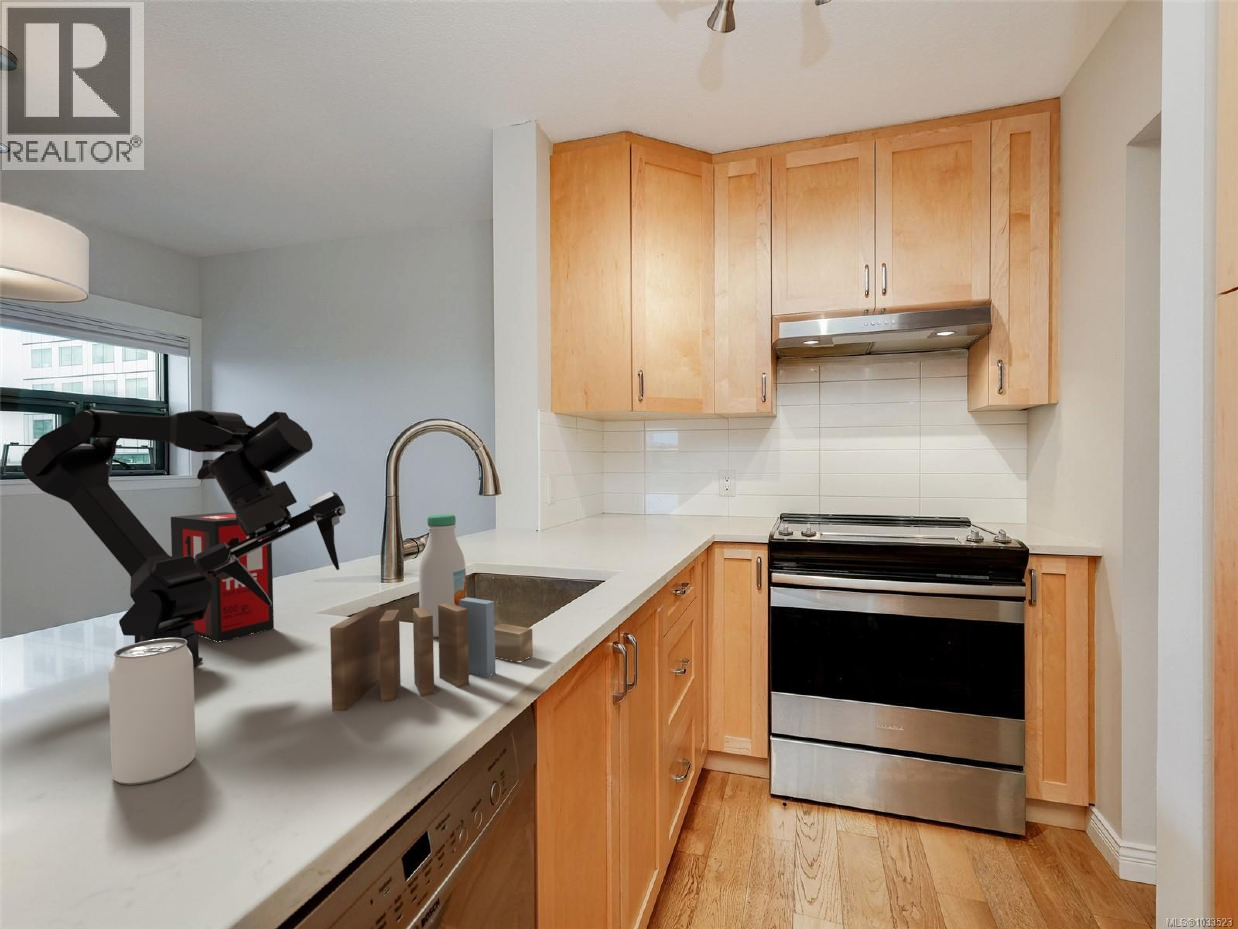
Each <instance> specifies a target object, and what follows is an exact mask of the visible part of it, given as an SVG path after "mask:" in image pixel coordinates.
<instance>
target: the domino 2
mask: <svg viewBox="0 0 1238 929" xmlns="http://www.w3.org/2000/svg"><path fill="white" fill-rule="evenodd" d="M379 628H380V678H381V682H380V702H381V703H383V702H393V701H396V698H397V696H398V693H399V691H400V688H401V684H402V683H401V682H402V681H401V641H400V640H401V639H400V638H401V636H400V635H401V634H400V631H401V628H400V609H391V610H390V609H389V610H388V609H387V610H385V612H384V613H383V615H381V619H380V621H379Z"/></svg>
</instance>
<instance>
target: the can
mask: <svg viewBox="0 0 1238 929" xmlns="http://www.w3.org/2000/svg"><path fill="white" fill-rule="evenodd" d="M186 644H187V640H186V639H182V638H164V639H155V640H149V641H144V642H139V643H135V642H134V643H132V644H129V645H126V646H123V647H121V648H118V649H117V650H116V651H114V653H113V656H114V660H113V662H112V663H111V665H110V667H109V670H108V694H109V697H108V698H109V731H110V733H109V734H110V760H111V777H112V779H113V780H114V781H116V782H117V783H118V784H120V785H124V786H138V785H144V784H150V783H154V782H157V781H160V780H163V779H166V778H169V777H172V776H174V775H176V774H178V773H180V772H181V771H183V770H185V769H186V768H187V767H189V765H190V764H191V763H192V761H193V760H194V759H195V757H196V717H195V716H196V713H195V711H196V710H195V709H196V708H195V680H194V677H195V676H194V675H195V674H194V666H193V656H192V653H191V652H190V650H189V649H188V647H187V645H186Z"/></svg>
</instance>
